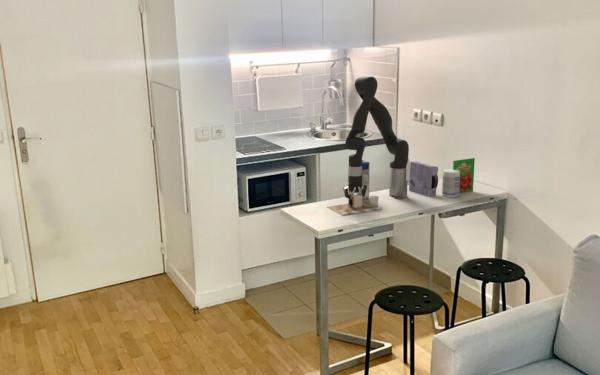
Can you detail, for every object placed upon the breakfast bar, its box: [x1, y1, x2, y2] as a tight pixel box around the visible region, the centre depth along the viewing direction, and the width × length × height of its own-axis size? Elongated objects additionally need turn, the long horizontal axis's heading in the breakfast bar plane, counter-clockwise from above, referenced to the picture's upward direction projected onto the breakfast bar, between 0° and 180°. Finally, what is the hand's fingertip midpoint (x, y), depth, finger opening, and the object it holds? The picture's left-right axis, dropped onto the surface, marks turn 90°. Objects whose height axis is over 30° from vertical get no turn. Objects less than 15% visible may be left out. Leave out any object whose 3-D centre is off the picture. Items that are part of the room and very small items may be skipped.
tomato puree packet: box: [452, 157, 476, 195], centre depth 373 cm, size 15×1×20 cm, turn 116°
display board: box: [326, 200, 383, 217], centre depth 346 cm, size 24×18×2 cm
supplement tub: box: [441, 168, 460, 198], centre depth 368 cm, size 10×10×15 cm
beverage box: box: [351, 159, 370, 201], centre depth 363 cm, size 7×11×22 cm, turn 26°
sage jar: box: [369, 195, 379, 208], centre depth 345 cm, size 4×4×6 cm
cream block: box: [347, 193, 363, 208], centre depth 350 cm, size 7×5×6 cm, turn 26°
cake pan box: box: [408, 160, 439, 198], centre depth 374 cm, size 19×5×18 cm, turn 34°
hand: (355, 204), depth 350 cm, fingers closed on cream block, 4 cm apart
